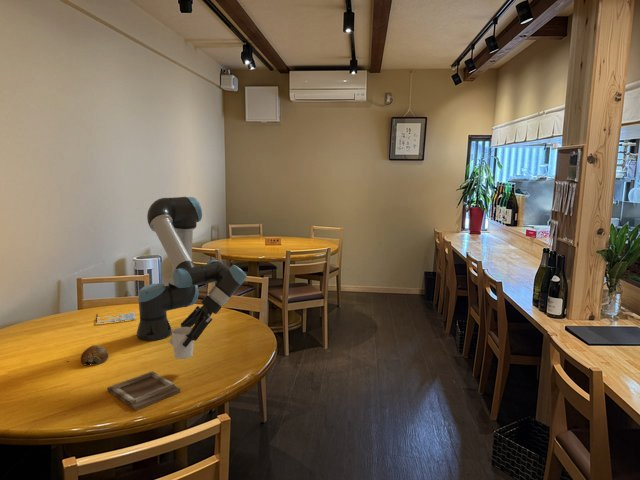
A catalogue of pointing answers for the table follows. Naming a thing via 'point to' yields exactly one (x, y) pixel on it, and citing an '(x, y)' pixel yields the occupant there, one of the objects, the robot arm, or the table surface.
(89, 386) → the table surface
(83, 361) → the bread roll
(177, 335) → the white cup
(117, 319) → the snack bag
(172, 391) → the keeper board
